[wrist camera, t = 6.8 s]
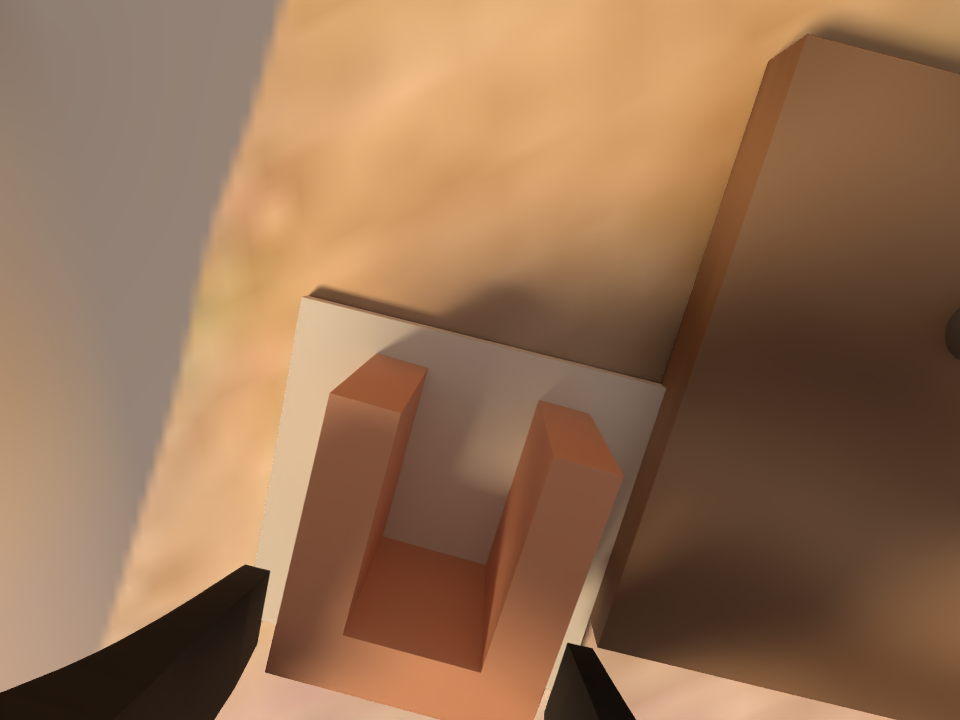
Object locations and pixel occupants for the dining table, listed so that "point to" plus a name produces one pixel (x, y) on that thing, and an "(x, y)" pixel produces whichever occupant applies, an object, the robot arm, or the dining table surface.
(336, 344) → the felt mat
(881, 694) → the stand
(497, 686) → the c link
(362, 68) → the dining table surface
